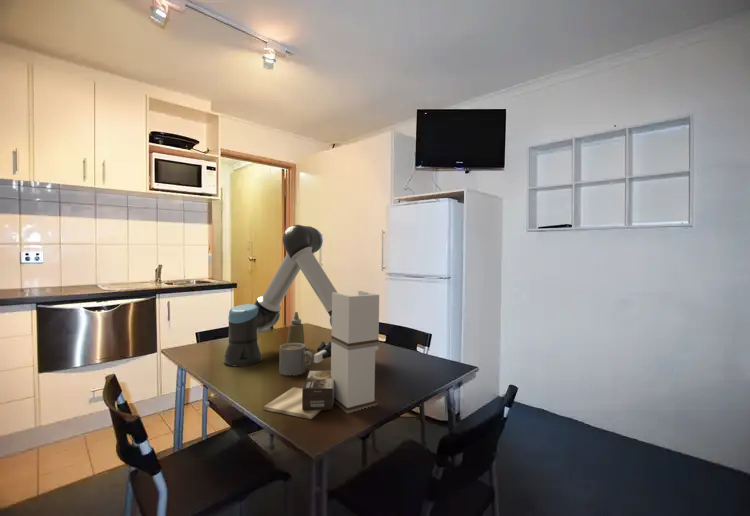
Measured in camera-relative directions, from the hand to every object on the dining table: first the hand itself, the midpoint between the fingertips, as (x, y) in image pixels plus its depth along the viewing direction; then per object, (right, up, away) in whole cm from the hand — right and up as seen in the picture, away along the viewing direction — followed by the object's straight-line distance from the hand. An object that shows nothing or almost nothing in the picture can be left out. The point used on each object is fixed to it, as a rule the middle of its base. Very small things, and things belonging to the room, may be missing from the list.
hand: (315, 358), depth 119 cm
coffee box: (+3, -7, -1) cm, 7 cm away
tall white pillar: (+13, -12, -8) cm, 20 cm away
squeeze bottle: (-18, -10, +50) cm, 54 cm away
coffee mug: (-11, -11, +18) cm, 24 cm away
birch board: (-3, -11, -10) cm, 15 cm away
